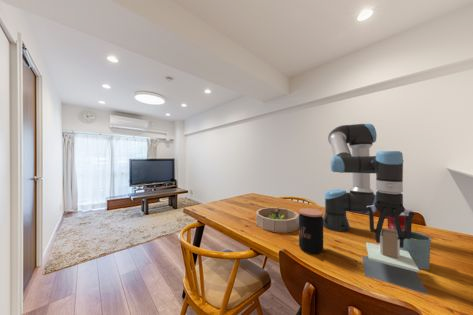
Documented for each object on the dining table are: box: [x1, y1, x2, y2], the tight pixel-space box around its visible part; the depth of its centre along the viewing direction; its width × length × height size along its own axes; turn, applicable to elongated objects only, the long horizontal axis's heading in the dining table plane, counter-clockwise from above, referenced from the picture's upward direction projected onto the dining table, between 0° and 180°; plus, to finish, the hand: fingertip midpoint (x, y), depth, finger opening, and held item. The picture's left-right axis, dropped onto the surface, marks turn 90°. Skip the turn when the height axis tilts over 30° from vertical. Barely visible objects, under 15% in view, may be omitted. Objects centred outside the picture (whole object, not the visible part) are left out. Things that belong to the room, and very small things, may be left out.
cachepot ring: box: [255, 206, 299, 233], centre depth 113 cm, size 27×27×7 cm
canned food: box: [387, 212, 406, 231], centre depth 102 cm, size 8×8×11 cm
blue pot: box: [396, 230, 432, 270], centre depth 70 cm, size 10×10×12 cm
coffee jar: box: [298, 207, 324, 256], centre depth 81 cm, size 11×11×18 cm
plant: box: [266, 209, 287, 220], centre depth 112 cm, size 20×20×11 cm
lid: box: [365, 227, 420, 273], centre depth 64 cm, size 13×13×10 cm
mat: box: [361, 255, 430, 296], centre depth 64 cm, size 16×16×1 cm
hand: (388, 253), depth 65 cm, fingers closed on lid, 4 cm apart
